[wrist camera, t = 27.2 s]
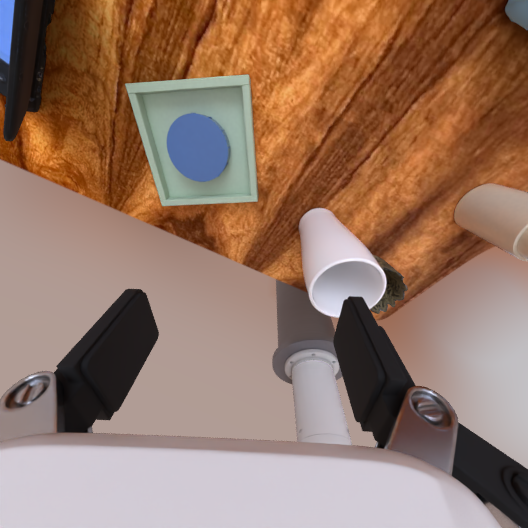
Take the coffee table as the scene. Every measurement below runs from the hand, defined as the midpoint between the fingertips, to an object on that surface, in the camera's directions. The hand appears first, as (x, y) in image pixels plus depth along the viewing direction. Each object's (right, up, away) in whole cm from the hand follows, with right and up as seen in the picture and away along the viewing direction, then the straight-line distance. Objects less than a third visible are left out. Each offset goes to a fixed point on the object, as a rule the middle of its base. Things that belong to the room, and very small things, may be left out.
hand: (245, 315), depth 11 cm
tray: (-6, +17, +16) cm, 24 cm away
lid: (-7, +16, +15) cm, 22 cm away
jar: (+30, +10, +19) cm, 37 cm away
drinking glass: (+9, +8, +21) cm, 24 cm away
